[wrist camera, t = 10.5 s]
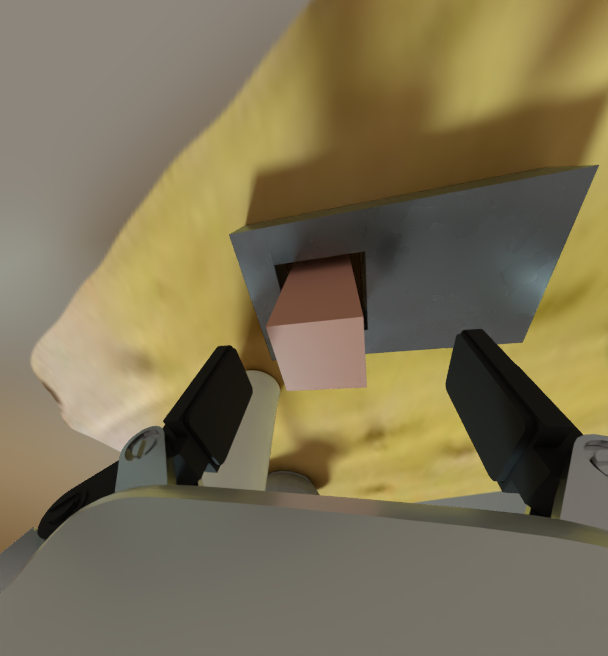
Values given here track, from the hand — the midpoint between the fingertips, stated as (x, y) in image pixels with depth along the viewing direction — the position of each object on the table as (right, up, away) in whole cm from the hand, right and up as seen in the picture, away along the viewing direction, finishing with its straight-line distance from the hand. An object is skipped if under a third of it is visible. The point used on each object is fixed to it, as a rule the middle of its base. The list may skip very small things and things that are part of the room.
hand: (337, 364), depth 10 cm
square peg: (0, +5, +8) cm, 9 cm away
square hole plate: (+4, +6, +7) cm, 10 cm away
